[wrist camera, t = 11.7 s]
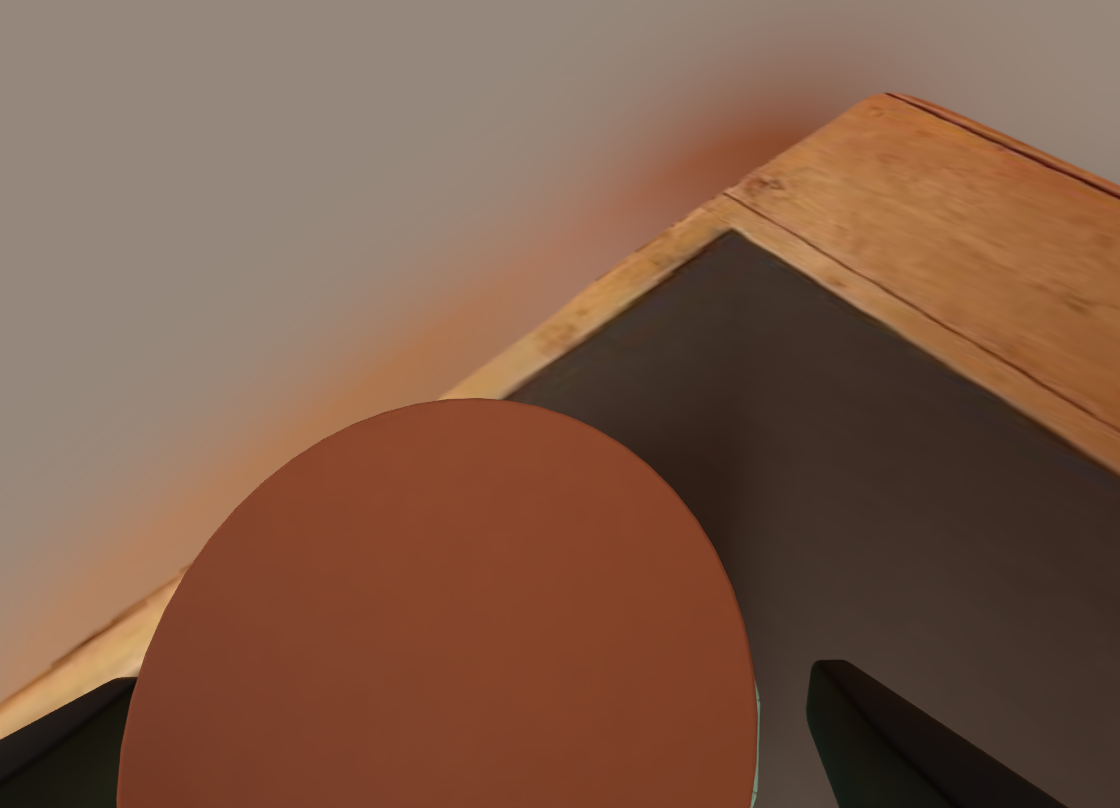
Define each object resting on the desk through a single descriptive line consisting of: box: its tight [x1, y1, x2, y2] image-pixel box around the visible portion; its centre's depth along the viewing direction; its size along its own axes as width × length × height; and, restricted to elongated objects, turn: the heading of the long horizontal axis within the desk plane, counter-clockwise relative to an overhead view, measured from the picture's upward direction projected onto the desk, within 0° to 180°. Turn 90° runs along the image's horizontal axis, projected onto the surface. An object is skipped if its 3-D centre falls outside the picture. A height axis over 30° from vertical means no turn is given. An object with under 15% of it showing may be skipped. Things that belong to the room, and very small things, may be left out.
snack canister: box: [117, 398, 758, 808], centre depth 11 cm, size 6×6×13 cm
